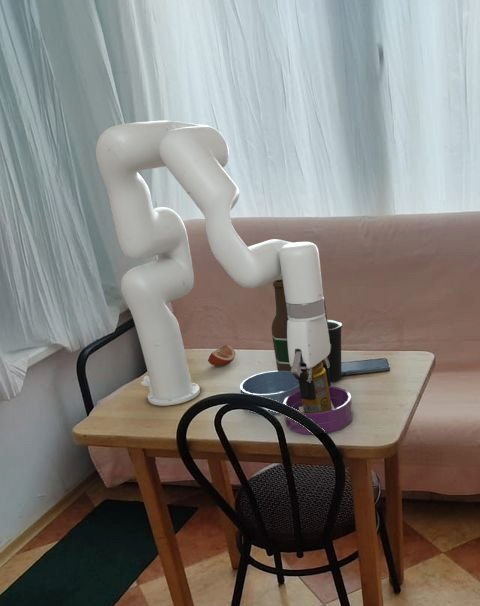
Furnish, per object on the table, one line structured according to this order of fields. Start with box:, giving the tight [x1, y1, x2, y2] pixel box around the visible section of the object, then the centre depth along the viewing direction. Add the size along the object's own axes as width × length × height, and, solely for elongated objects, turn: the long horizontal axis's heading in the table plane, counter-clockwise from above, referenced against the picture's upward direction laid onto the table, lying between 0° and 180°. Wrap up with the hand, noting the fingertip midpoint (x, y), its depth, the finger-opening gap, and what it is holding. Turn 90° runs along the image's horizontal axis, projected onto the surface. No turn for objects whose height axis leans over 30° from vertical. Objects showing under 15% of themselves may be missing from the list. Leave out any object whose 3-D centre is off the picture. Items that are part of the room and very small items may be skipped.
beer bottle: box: [271, 279, 292, 371], centre depth 155 cm, size 8×8×24 cm
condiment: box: [298, 361, 335, 413], centre depth 132 cm, size 7×8×12 cm
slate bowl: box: [239, 370, 300, 415], centre depth 146 cm, size 14×14×5 cm
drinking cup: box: [324, 298, 343, 383], centre depth 152 cm, size 8×8×20 cm
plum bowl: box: [283, 385, 354, 436], centre depth 135 cm, size 14×14×5 cm
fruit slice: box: [207, 343, 236, 367], centre depth 170 cm, size 8×7×5 cm
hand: (316, 391), depth 133 cm, fingers closed on condiment, 6 cm apart
